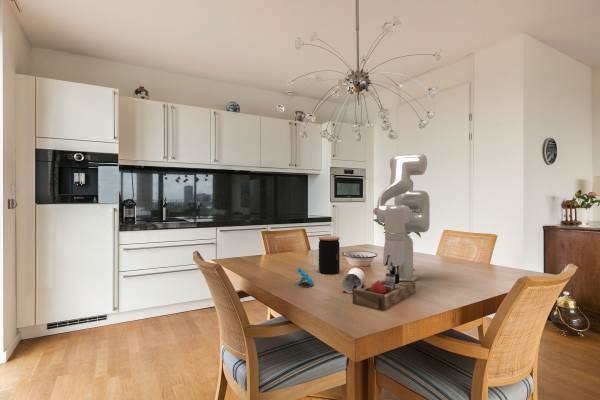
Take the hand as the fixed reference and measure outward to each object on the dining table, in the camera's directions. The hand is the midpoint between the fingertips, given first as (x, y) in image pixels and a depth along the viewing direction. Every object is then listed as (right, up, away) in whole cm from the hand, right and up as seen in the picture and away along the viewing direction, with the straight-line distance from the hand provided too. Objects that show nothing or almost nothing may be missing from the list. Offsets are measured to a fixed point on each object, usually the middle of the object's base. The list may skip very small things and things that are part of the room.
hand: (394, 283), depth 130 cm
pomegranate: (-9, -4, -10) cm, 14 cm away
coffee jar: (-23, -4, +38) cm, 44 cm away
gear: (-35, -5, +14) cm, 38 cm away
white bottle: (-15, -4, +9) cm, 18 cm away
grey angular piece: (-3, -4, -3) cm, 6 cm away
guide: (-5, -4, -6) cm, 9 cm away
